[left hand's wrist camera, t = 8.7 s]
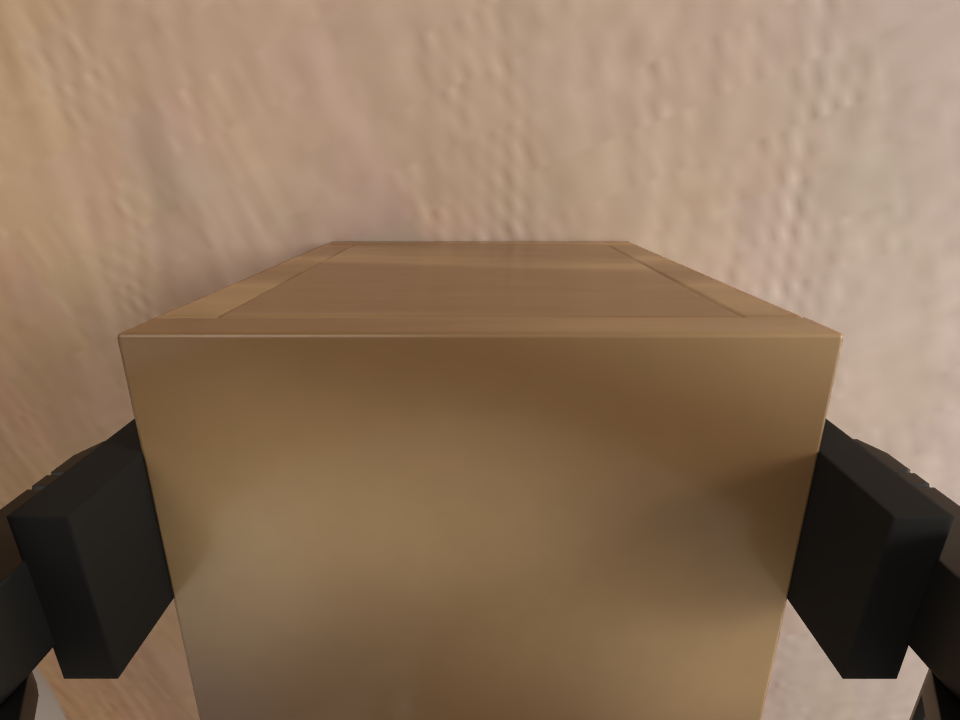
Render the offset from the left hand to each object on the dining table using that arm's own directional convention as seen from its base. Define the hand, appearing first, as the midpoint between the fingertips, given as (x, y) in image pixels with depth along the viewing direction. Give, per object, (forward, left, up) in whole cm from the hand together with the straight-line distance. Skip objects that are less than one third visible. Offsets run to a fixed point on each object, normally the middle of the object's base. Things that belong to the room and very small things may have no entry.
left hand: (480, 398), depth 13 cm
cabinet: (+5, +1, -6) cm, 8 cm away
